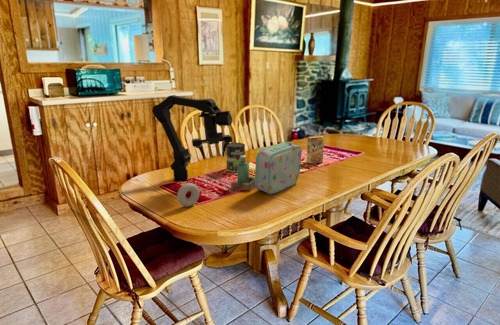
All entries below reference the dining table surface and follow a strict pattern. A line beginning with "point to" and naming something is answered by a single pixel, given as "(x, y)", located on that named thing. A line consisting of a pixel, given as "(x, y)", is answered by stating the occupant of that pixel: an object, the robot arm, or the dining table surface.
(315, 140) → the candy box
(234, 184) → the rest
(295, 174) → the lunch box
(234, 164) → the coffee can
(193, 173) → the dining table surface
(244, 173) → the bottle
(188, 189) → the donut
